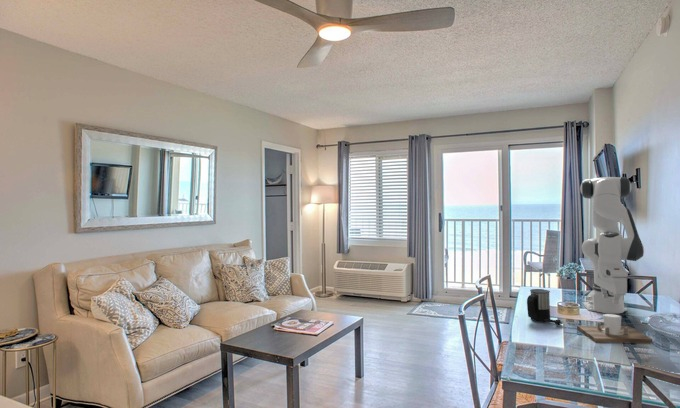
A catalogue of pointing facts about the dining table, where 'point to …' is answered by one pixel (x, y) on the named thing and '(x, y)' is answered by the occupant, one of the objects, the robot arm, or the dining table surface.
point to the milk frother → (540, 306)
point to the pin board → (614, 334)
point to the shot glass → (612, 322)
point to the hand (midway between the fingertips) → (610, 300)
